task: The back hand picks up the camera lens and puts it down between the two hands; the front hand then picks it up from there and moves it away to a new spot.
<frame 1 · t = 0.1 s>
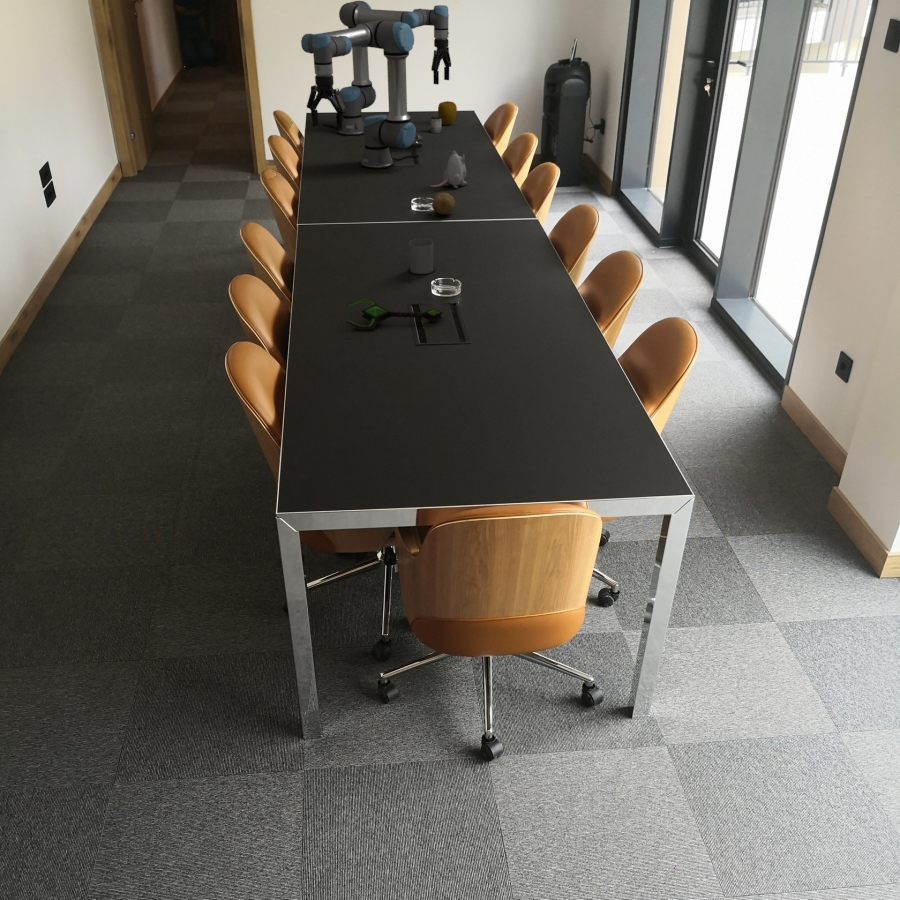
front hand: (327, 128, 372), 28 cm above the table, tool pointing down, fingers open, 13 cm apart
back hand: (441, 82, 465), 28 cm above the table, tool pointing down, fingers open, 13 cm apart
camera lens: (435, 132, 488), on the table
cup: (421, 270, 308), on the table
potato: (443, 213, 363), on the table
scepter: (394, 322, 270), on the table
toy: (447, 188, 394), on the table
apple: (447, 124, 503), on the table
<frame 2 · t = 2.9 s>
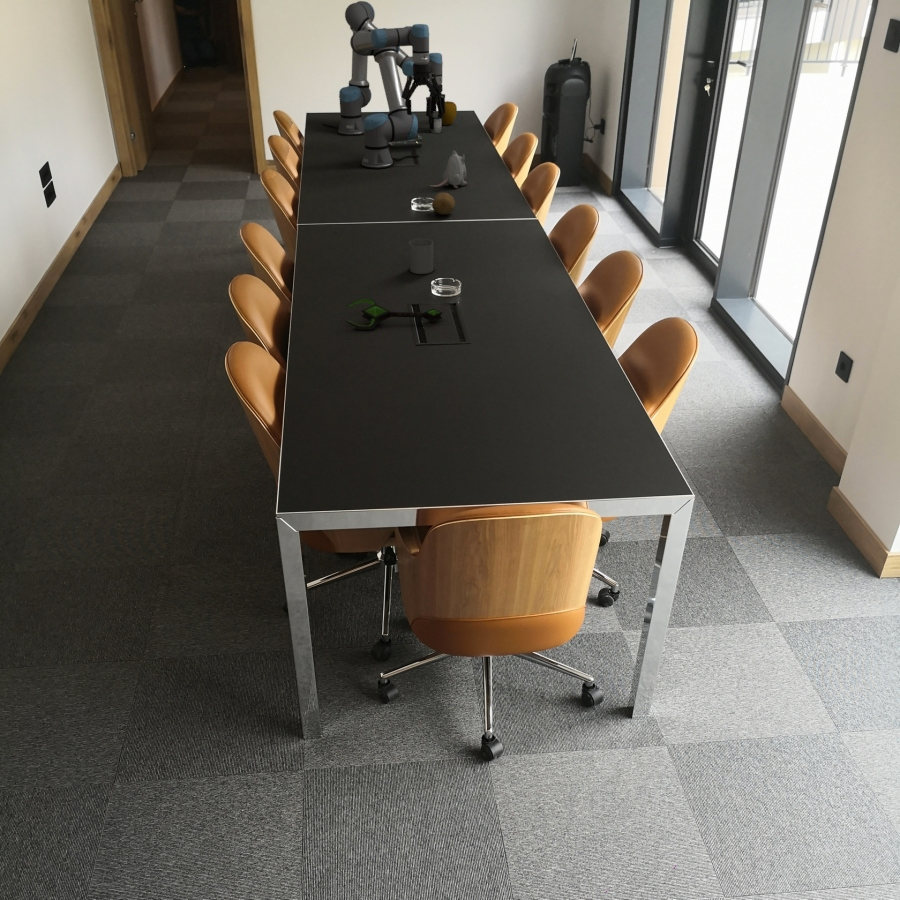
front hand: (421, 113, 398), 28 cm above the table, tool pointing down, fingers open, 13 cm apart
back hand: (435, 127, 487), 2 cm above the table, tool pointing down, fingers closed on camera lens, 6 cm apart
camera lens: (435, 132, 488), on the table, touching back hand
everything else where it was.
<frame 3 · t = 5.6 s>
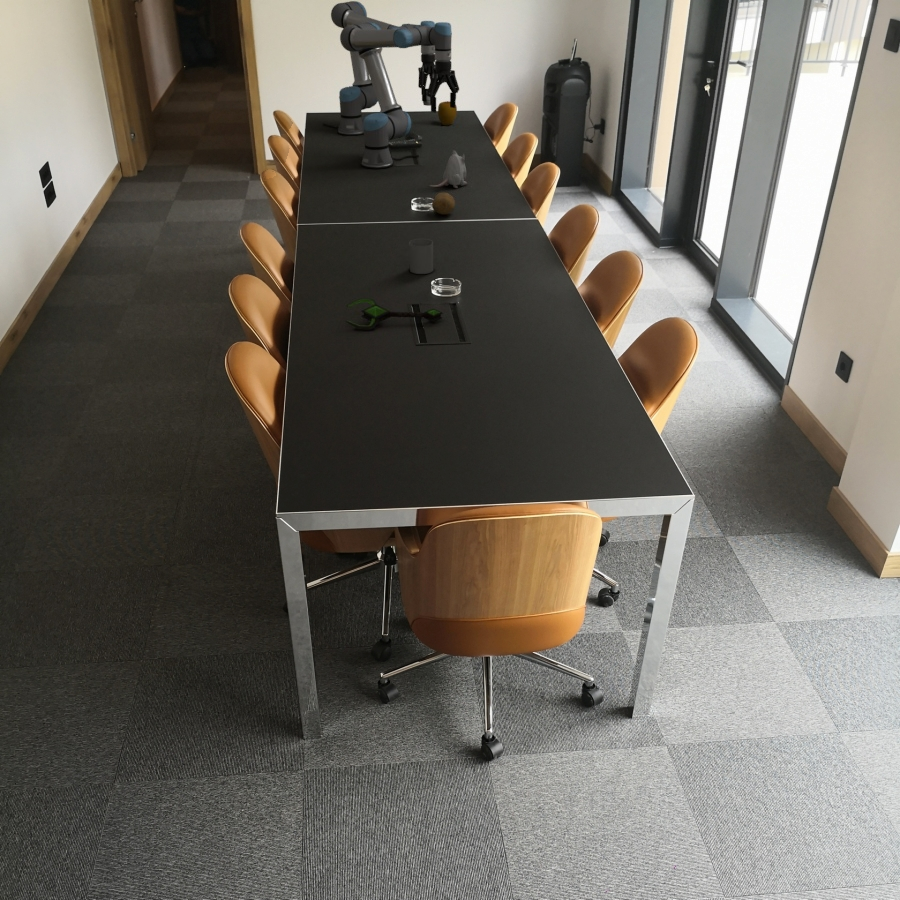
front hand: (443, 109, 405), 28 cm above the table, tool pointing down, fingers open, 13 cm apart
back hand: (428, 100, 467), 19 cm above the table, tool pointing down, fingers closed on camera lens, 6 cm apart
camera lens: (428, 104, 469), point 17 cm above the table, touching back hand
everything else where it was.
when the back hand's fingers open (4 cm above the table, at t = 8.7 s): camera lens drops 2 cm, on the table.
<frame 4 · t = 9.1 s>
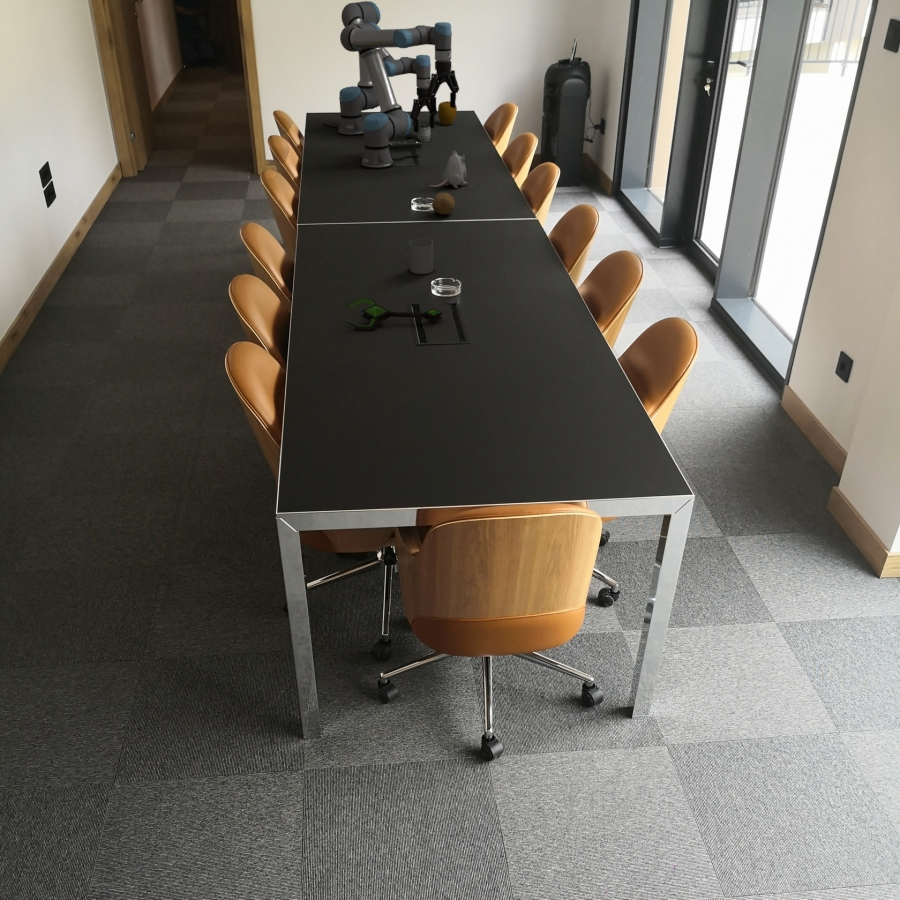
front hand: (443, 109, 405), 28 cm above the table, tool pointing down, fingers open, 13 cm apart
back hand: (424, 130, 468), 5 cm above the table, tool pointing down, fingers open, 12 cm apart
camera lens: (424, 140, 471), on the table
everything else where it was.
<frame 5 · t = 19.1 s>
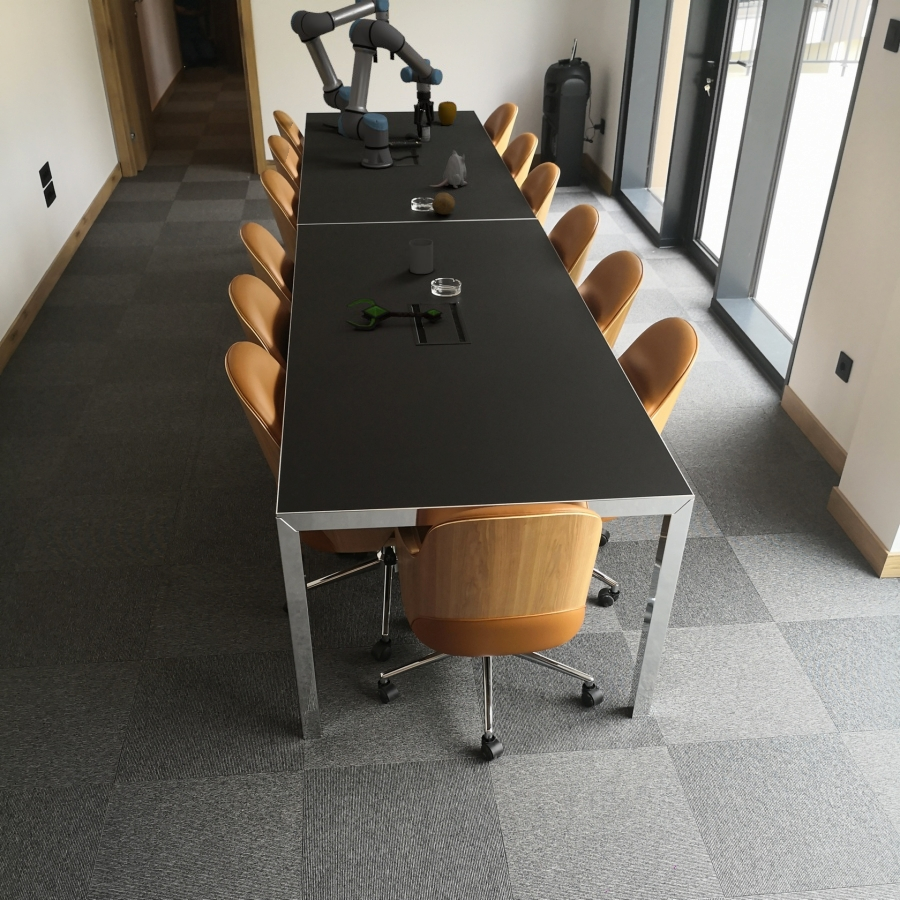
front hand: (424, 136, 470), 2 cm above the table, tool pointing down, fingers closed on camera lens, 6 cm apart
back hand: (383, 61, 494), 33 cm above the table, tool pointing down, fingers open, 13 cm apart
camera lens: (424, 140, 471), on the table, touching front hand
everything else where it was.
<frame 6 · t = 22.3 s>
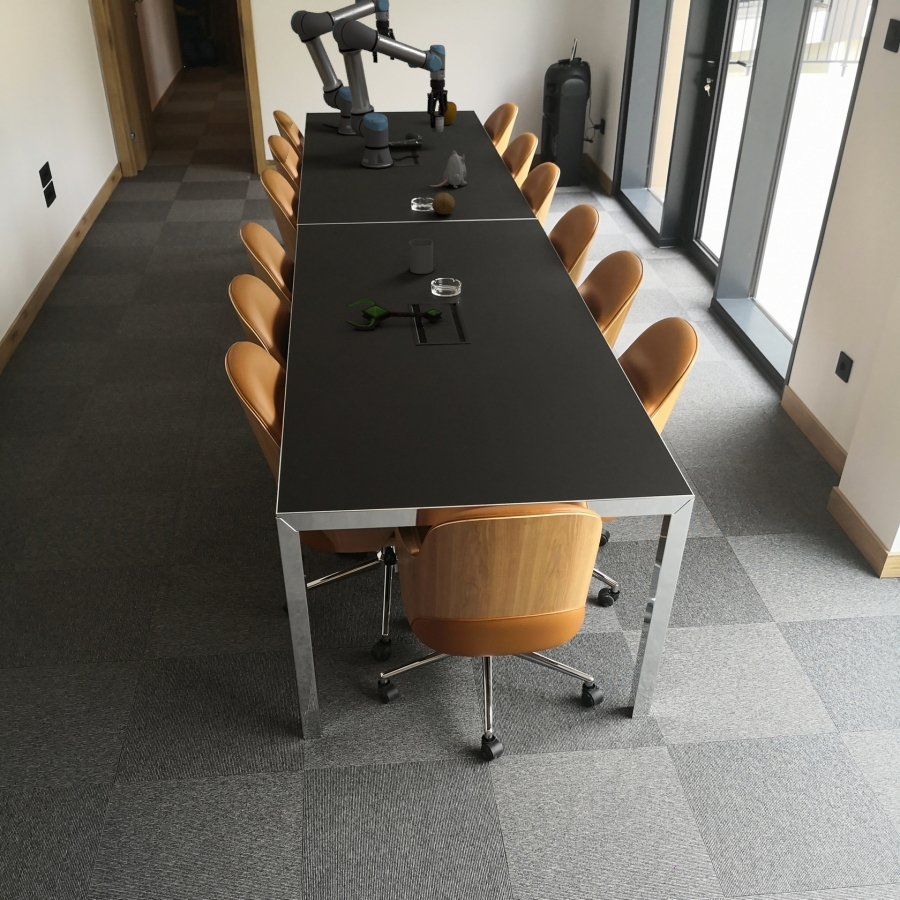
front hand: (437, 126, 447), 12 cm above the table, tool pointing down, fingers closed on camera lens, 6 cm apart
back hand: (383, 61, 494), 33 cm above the table, tool pointing down, fingers open, 13 cm apart
camera lens: (437, 131, 448), point 9 cm above the table, touching front hand
everything else where it was.
when the front hand's fingers open (4 cm above the table, at t = 25.8 s): camera lens drops 2 cm, on the table.
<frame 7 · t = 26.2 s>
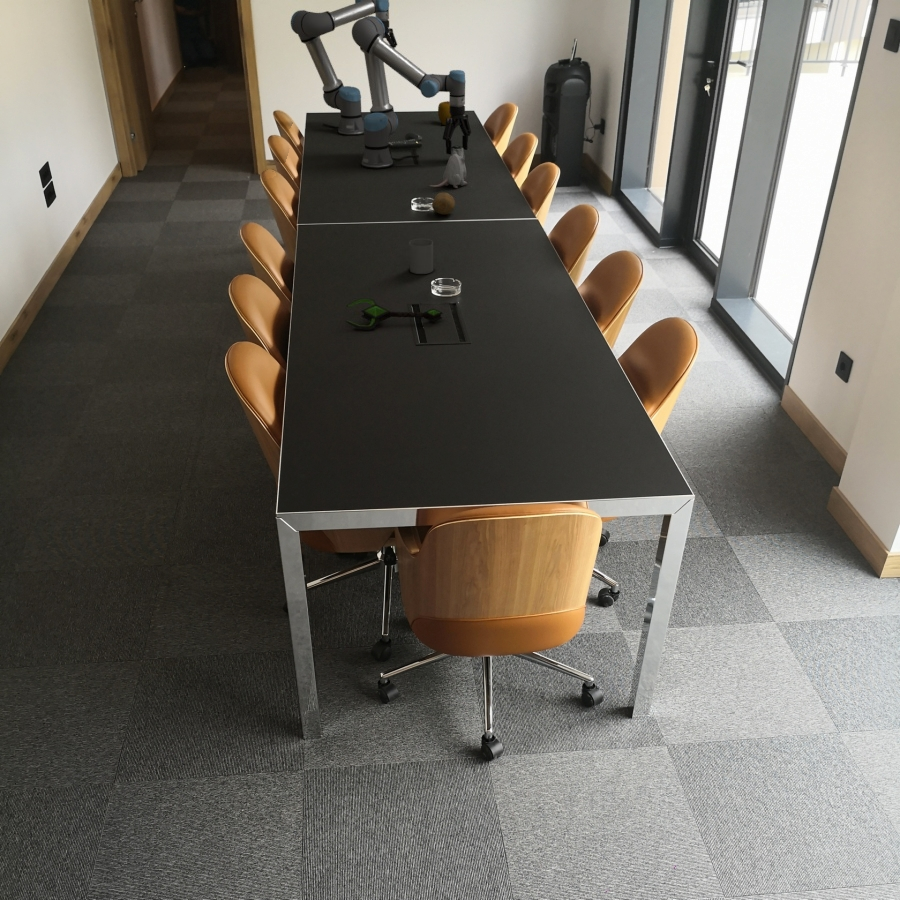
front hand: (456, 151, 429), 5 cm above the table, tool pointing down, fingers open, 11 cm apart
back hand: (383, 61, 494), 33 cm above the table, tool pointing down, fingers open, 13 cm apart
camera lens: (457, 162, 432), on the table
everything else where it was.
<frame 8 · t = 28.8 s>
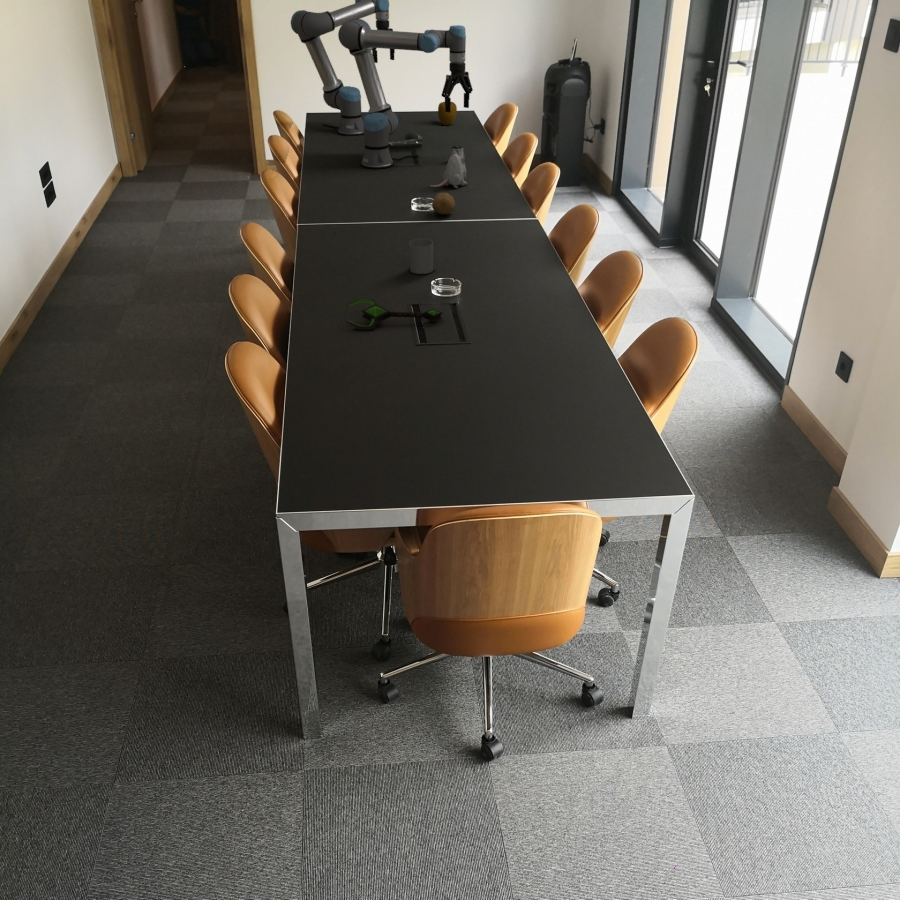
front hand: (457, 109, 419), 25 cm above the table, tool pointing down, fingers open, 13 cm apart
back hand: (383, 61, 494), 33 cm above the table, tool pointing down, fingers open, 13 cm apart
nothing on the table moved.
at the end: camera lens inside the target area (0.1 cm from its centre), on the table; camera lens tilted 0°; the two hands never held the camera lens at the same time; the front hand is holding nothing; the back hand is holding nothing; camera lens at rest at the end (0.0 cm/s) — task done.
